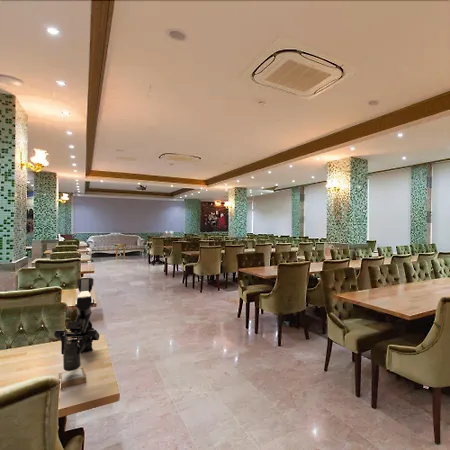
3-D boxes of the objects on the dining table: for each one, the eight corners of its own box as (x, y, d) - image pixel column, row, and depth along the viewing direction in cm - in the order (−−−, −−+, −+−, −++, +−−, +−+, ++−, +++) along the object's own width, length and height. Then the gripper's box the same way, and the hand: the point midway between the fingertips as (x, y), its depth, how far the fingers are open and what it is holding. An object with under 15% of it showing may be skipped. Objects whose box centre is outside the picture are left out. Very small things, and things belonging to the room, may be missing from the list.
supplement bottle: (84, 365, 132) (84, 338, 132) (71, 372, 125) (71, 345, 125) (72, 362, 134) (72, 336, 134) (59, 369, 128) (59, 342, 127)
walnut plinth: (83, 372, 136) (83, 366, 136) (86, 382, 128) (86, 376, 128) (58, 378, 131) (58, 372, 131) (59, 389, 123) (59, 383, 123)
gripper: (55, 312, 133) (40, 347, 122) (96, 312, 133) (85, 347, 122) (65, 323, 141) (52, 356, 130) (103, 323, 141) (93, 356, 130)
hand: (70, 354), depth 128 cm, fingers closed on supplement bottle, 7 cm apart
